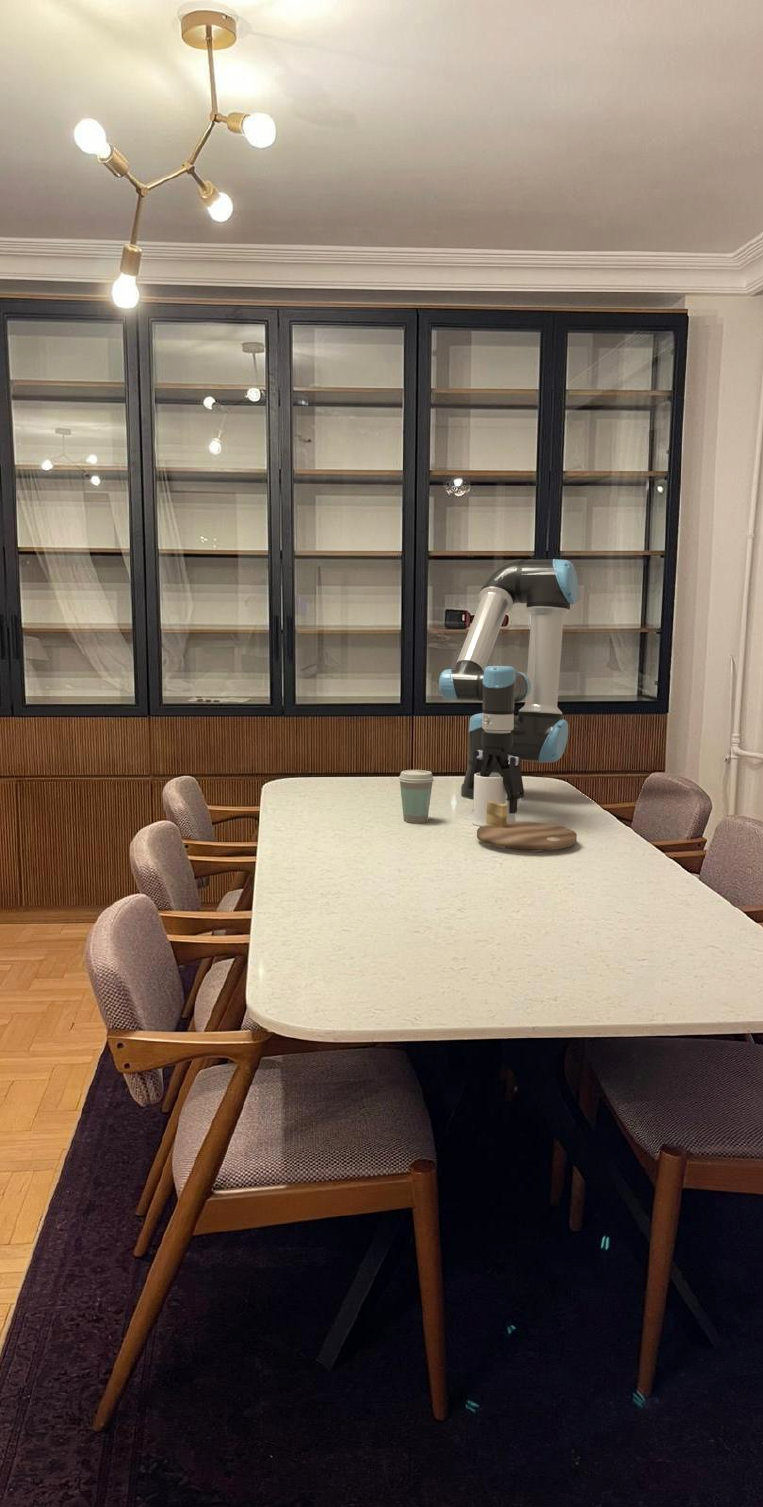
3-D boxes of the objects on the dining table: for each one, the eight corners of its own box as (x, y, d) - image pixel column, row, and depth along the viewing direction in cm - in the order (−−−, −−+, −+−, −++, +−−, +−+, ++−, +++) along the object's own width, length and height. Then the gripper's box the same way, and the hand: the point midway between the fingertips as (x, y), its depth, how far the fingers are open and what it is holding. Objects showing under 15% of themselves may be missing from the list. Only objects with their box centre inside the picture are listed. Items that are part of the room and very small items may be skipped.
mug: (519, 820, 255) (520, 772, 254) (522, 828, 247) (524, 778, 245) (471, 819, 256) (472, 771, 254) (473, 827, 247) (474, 777, 246)
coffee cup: (433, 824, 250) (434, 775, 248) (398, 824, 250) (398, 774, 248) (432, 817, 258) (433, 769, 256) (398, 816, 258) (398, 769, 256)
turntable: (597, 840, 230) (598, 812, 229) (528, 855, 216) (529, 825, 215) (521, 822, 247) (522, 796, 246) (453, 834, 234) (454, 807, 233)
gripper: (454, 727, 255) (452, 816, 258) (520, 737, 238) (516, 832, 241) (476, 725, 259) (474, 812, 263) (542, 735, 242) (539, 828, 245)
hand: (494, 822), depth 252 cm, fingers open, 9 cm apart
